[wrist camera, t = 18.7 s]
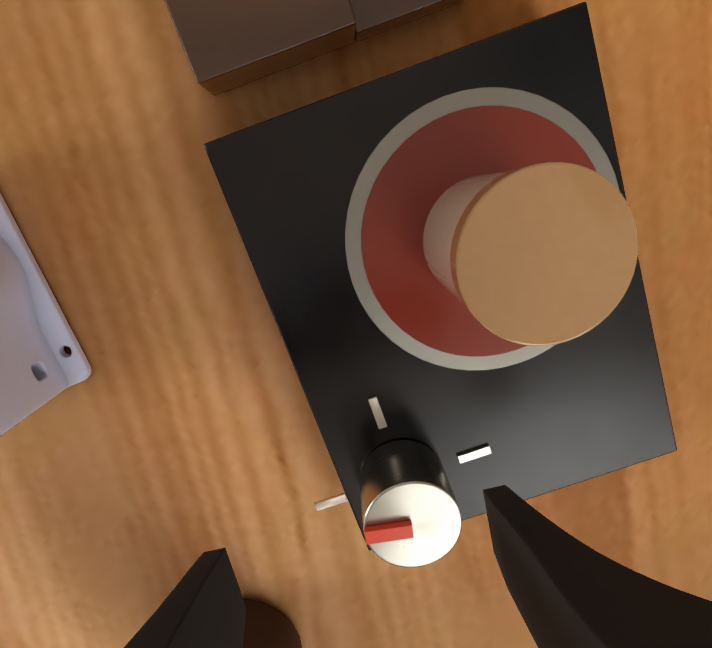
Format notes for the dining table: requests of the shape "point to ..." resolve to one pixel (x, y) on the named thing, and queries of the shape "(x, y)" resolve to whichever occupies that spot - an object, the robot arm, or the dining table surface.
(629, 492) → the dining table surface
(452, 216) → the cream jar
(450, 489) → the dial
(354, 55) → the dining table surface
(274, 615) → the bottle
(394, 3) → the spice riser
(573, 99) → the hot plate
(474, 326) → the burner
